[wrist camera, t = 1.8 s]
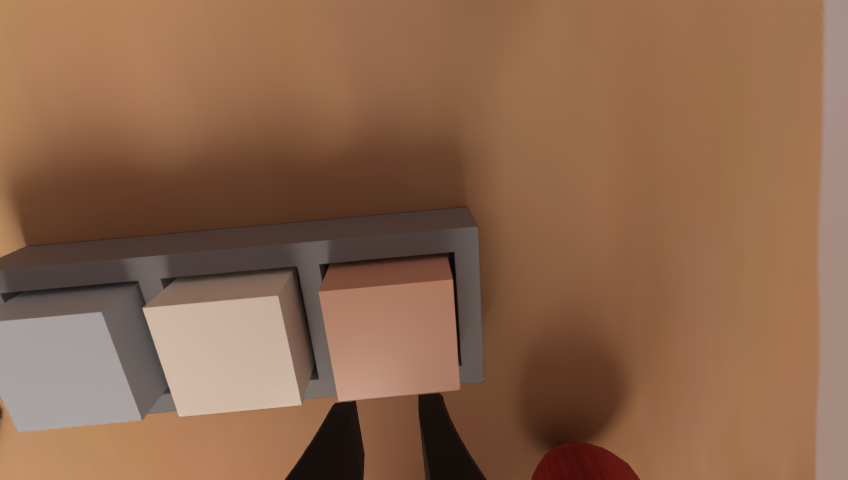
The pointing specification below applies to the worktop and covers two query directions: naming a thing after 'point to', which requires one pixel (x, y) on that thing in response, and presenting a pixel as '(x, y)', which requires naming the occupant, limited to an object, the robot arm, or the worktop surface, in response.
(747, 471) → the worktop surface
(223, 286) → the cream key
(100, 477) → the worktop surface
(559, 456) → the onion
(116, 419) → the light gray key
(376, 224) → the key panel
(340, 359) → the terracotta key
